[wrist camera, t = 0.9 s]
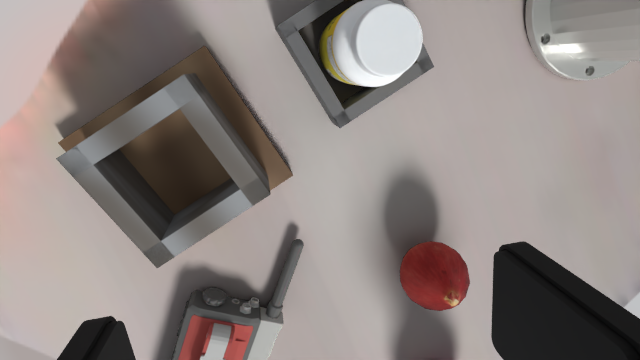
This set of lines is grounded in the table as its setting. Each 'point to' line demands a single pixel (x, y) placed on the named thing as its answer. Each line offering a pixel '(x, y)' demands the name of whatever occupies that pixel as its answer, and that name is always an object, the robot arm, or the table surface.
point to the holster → (316, 79)
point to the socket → (175, 158)
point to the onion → (434, 276)
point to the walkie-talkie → (233, 322)
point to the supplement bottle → (371, 43)
